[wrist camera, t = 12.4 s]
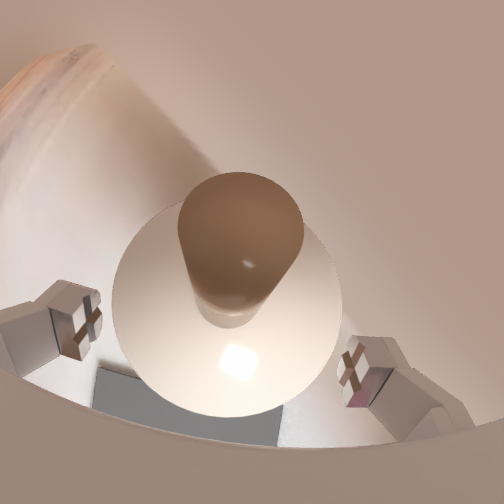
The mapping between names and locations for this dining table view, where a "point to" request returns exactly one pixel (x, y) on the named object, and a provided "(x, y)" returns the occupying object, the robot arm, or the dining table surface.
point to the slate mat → (179, 413)
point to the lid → (227, 299)
